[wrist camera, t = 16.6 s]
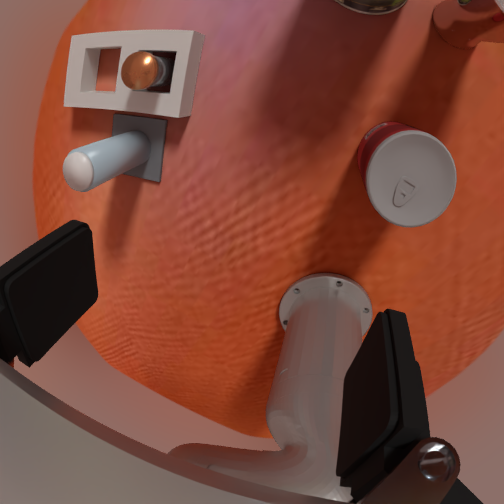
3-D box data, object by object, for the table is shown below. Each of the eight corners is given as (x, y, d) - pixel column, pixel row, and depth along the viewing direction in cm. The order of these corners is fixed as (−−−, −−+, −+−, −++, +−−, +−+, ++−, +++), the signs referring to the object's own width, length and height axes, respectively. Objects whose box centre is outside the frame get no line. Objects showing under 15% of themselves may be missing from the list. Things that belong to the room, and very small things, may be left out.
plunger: (178, 90, 33) (151, 91, 28) (147, 87, 34) (118, 88, 29) (183, 56, 31) (157, 51, 26) (152, 54, 32) (124, 51, 26)
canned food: (349, 181, 34) (355, 215, 25) (364, 112, 30) (379, 117, 21) (412, 198, 33) (439, 238, 24) (430, 132, 29) (468, 148, 20)
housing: (190, 115, 35) (178, 117, 32) (79, 103, 37) (63, 106, 34) (205, 35, 30) (193, 30, 27) (87, 37, 32) (72, 35, 29)
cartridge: (152, 132, 36) (92, 152, 26) (149, 167, 39) (93, 197, 29) (122, 128, 37) (60, 147, 27) (120, 162, 39) (62, 189, 29)
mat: (160, 181, 40) (159, 182, 39) (111, 170, 41) (110, 171, 40) (167, 120, 36) (165, 120, 35) (115, 113, 37) (113, 114, 36)
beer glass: (426, -9, 21) (474, -60, 8) (481, 6, 20) (547, -26, 7) (430, 45, 25) (489, 18, 12) (484, 59, 23) (560, 50, 10)
